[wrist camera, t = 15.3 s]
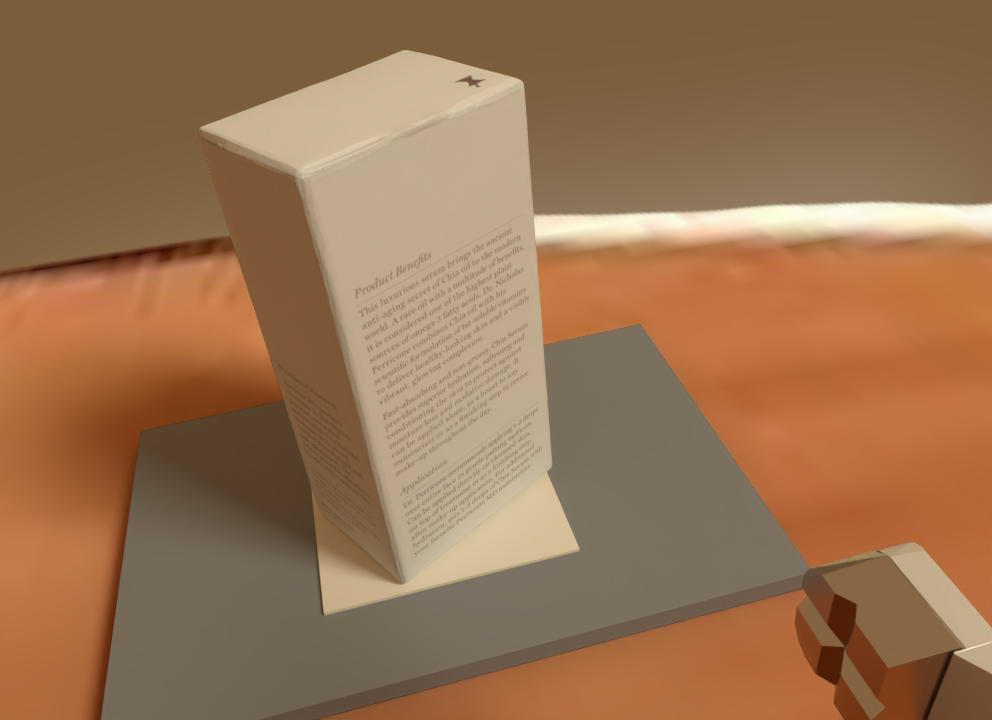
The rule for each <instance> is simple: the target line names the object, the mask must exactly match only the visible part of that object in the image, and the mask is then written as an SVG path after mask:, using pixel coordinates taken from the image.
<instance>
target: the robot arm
mask: <svg viewBox="0 0 992 720" xmlns="http://www.w3.org/2000/svg"><path fill="white" fill-rule="evenodd" d="M801 586H802V588H803V589H804V591H805V592H806V594H807V595H808V596H807V597H806V598H805V599H804V600H803V601H802V602H801V603H800V604H799V605H798V606H797V611H796V618H795V626H796V631H797V636H798V641H799V644H800V646H801V648H802V650H803V653H804V655H805V657H806V659H807V661H808V662H809V664H810V666H811V667H812V669H813V671H814V672H815V674H817V675H818V676H820V677H822V678H823V679H825V680H827V681H829V682H830V683H832V684H834V685H835V692H834V705H835V706H836V708H837V709H838V711H839V712H840V714H841V716H842V717H843V719H844V720H992V628H991V626H990V625H989V624H988V623H987V622H986V621H985V620H984V618H983V617H982V616H981V615H980V614H979V613H978V611H977V610H976V609H975V608H974V607H973V606H972V605H971V603H970V602H969V601H968V600H967V599H966V598H965V596H964V595H963V594H962V593H961V592H960V591H959V589H958V588H957V587H956V586H955V585H954V584H953V583H952V581H951V580H950V579H949V578H948V577H947V576H946V574H945V573H944V572H943V571H942V570H941V569H940V568H939V566H938V565H937V564H936V563H935V562H934V561H933V559H932V558H931V557H930V556H929V555H928V554H927V553H926V551H925V550H924V549H923V548H922V547H921V546H919V545H917V544H916V543H914V542H904V543H901V544H897V545H894V546H890V547H886V548H883V549H879V550H876V551H873V550H872V551H869V552H865V553H862V554H858V555H855V556H851V557H848V558H844V559H841V560H838V561H834V562H831V563H827V564H824V565H820V566H817V567H813V568H810V569H809V570H808V571H807V572H806V573H804V576H803V580H802V585H801Z"/></svg>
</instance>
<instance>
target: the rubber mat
mask: <svg viewBox="0 0 992 720" xmlns="http://www.w3.org/2000/svg"><path fill="white" fill-rule="evenodd" d="M543 347H544V362H545V375H546V386H547V398H548V412H549V425H550V442H551V454H552V467H551V468H550V470H548V471H547V472H546V473H544V474H543V475H542V476H540V477H539V478H538V479H536V480H535V481H534V482H533V483H532V484H530V485H529V486H528V487H527V488H525V489H524V490H523V491H522V492H520V493H519V494H518V495H516V496H515V497H514V498H513V499H511V500H510V501H509V502H508V503H506V504H505V505H504V506H503V507H501V508H500V509H499V510H497V511H496V512H495V513H494V514H492V515H491V516H490V517H489V518H487V519H486V520H485V521H484V522H482V523H481V524H480V525H479V526H477V527H476V528H475V529H474V530H472V531H471V532H470V533H469V534H467V535H466V536H465V537H464V538H462V539H461V540H460V541H458V542H457V543H456V544H455V545H453V546H452V547H451V548H450V549H448V550H447V551H446V552H445V553H443V554H442V555H441V556H439V557H438V558H437V559H436V560H434V561H433V562H432V563H431V564H429V565H428V566H427V567H426V568H425V569H423V570H422V571H421V572H420V573H418V574H417V575H416V576H415V577H414V578H412V579H411V580H410V581H409V582H407V583H402V582H400V581H399V580H397V579H396V578H395V577H394V576H393V575H392V574H391V573H389V572H388V571H387V570H386V569H385V568H384V567H383V566H382V565H380V564H379V563H378V562H377V561H376V560H375V559H374V558H373V557H371V556H370V555H369V554H368V553H367V552H366V551H365V550H364V549H363V548H361V547H360V546H359V545H358V544H357V543H355V542H354V541H353V540H352V539H351V538H350V537H348V536H347V535H346V534H345V533H344V532H343V531H341V530H340V529H339V528H338V527H337V526H335V525H334V524H333V523H332V522H331V521H329V520H328V519H327V518H326V517H324V516H323V514H322V513H321V512H320V510H319V509H318V506H317V503H316V500H315V497H314V494H313V491H312V488H311V484H310V481H309V478H308V475H307V472H306V468H305V465H304V462H303V459H302V456H301V453H300V450H299V447H298V444H297V441H296V437H295V434H294V431H293V428H292V425H291V422H290V419H289V416H288V413H287V409H286V406H285V403H284V401H279V402H275V403H270V404H265V405H261V406H256V407H251V408H247V409H242V410H237V411H233V412H228V413H223V414H219V415H214V416H209V417H205V418H200V419H195V420H191V421H186V422H181V423H177V424H172V425H167V426H163V427H158V428H153V429H149V430H144V431H141V432H140V439H139V446H138V453H137V461H136V468H135V475H134V482H133V490H132V497H131V504H130V511H129V519H128V526H127V533H126V540H125V548H124V555H123V562H122V569H121V577H120V584H119V591H118V598H117V606H116V613H115V620H114V627H113V635H112V642H111V649H110V656H109V664H108V671H107V678H106V685H105V693H104V700H103V707H102V714H101V720H316V719H319V718H323V717H327V716H330V715H334V714H338V713H342V712H345V711H349V710H353V709H356V708H360V707H364V706H368V705H371V704H375V703H379V702H382V701H386V700H390V699H394V698H397V697H401V696H405V695H408V694H412V693H416V692H420V691H423V690H427V689H431V688H434V687H438V686H442V685H446V684H449V683H453V682H457V681H460V680H464V679H468V678H472V677H475V676H479V675H483V674H486V673H490V672H494V671H498V670H501V669H505V668H509V667H512V666H516V665H520V664H524V663H527V662H531V661H535V660H538V659H542V658H546V657H550V656H553V655H557V654H561V653H564V652H568V651H572V650H576V649H579V648H583V647H587V646H590V645H594V644H598V643H602V642H605V641H609V640H613V639H616V638H620V637H624V636H628V635H631V634H635V633H639V632H642V631H646V630H650V629H654V628H657V627H661V626H665V625H668V624H672V623H676V622H680V621H683V620H687V619H691V618H694V617H698V616H702V615H706V614H709V613H713V612H717V611H720V610H724V609H728V608H732V607H735V606H739V605H743V604H746V603H750V602H754V601H758V600H761V599H765V598H769V597H772V596H776V595H780V594H784V593H787V592H791V591H795V590H798V589H802V586H801V585H802V580H803V576H804V573H806V572H807V571H808V570H809V569H810V568H809V567H808V565H807V564H806V563H805V561H804V560H803V558H802V557H801V555H800V554H799V552H798V551H797V550H796V548H795V547H794V545H793V544H792V542H791V541H790V539H789V538H788V537H787V535H786V534H785V532H784V531H783V529H782V528H781V526H780V525H779V524H778V522H777V521H776V519H775V518H774V516H773V515H772V513H771V512H770V511H769V509H768V508H767V506H766V505H765V503H764V502H763V500H762V499H761V498H760V496H759V495H758V493H757V492H756V490H755V489H754V487H753V486H752V485H751V483H750V482H749V480H748V479H747V477H746V476H745V474H744V473H743V472H742V470H741V469H740V467H739V466H738V464H737V463H736V461H735V460H734V459H733V457H732V456H731V454H730V453H729V451H728V450H727V449H726V447H725V446H724V444H723V443H722V441H721V440H720V438H719V437H718V436H717V434H716V433H715V431H714V430H713V428H712V427H711V425H710V424H709V423H708V421H707V420H706V418H705V417H704V415H703V414H702V412H701V411H700V410H699V408H698V407H697V405H696V404H695V402H694V401H693V399H692V398H691V397H690V395H689V394H688V392H687V391H686V389H685V388H684V386H683V385H682V384H681V382H680V381H679V379H678V378H677V376H676V375H675V373H674V372H673V371H672V369H671V368H670V366H669V365H668V363H667V362H666V360H665V359H664V358H663V356H662V355H661V353H660V352H659V350H658V349H657V347H656V346H655V345H654V343H653V342H652V340H651V339H650V337H649V336H648V334H647V333H646V332H645V330H644V329H643V327H642V326H641V324H638V325H633V326H629V327H624V328H619V329H615V330H610V331H605V332H601V333H596V334H591V335H587V336H582V337H577V338H573V339H568V340H563V341H559V342H554V343H550V344H545V345H543Z"/></svg>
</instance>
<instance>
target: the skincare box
mask: <svg viewBox="0 0 992 720" xmlns="http://www.w3.org/2000/svg"><path fill="white" fill-rule="evenodd" d="M198 134H199V139H200V142H201V145H202V148H203V151H204V154H205V158H206V161H207V165H208V168H209V171H210V174H211V177H212V180H213V183H214V186H215V189H216V192H217V195H218V198H219V201H220V205H221V208H222V211H223V214H224V217H225V220H226V223H227V226H228V229H229V232H230V236H231V239H232V242H233V245H234V248H235V252H236V255H237V258H238V261H239V263H240V266H241V270H242V273H243V276H244V279H245V282H246V285H247V288H248V291H249V294H250V297H251V300H252V303H253V306H254V309H255V312H256V316H257V319H258V322H259V325H260V328H261V331H262V334H263V338H264V341H265V344H266V347H267V350H268V353H269V357H270V360H271V363H272V366H273V369H274V372H275V375H276V378H277V382H278V385H279V388H280V391H281V394H282V397H283V400H284V403H285V406H286V409H287V413H288V416H289V419H290V422H291V425H292V428H293V431H294V434H295V437H296V441H297V444H298V447H299V450H300V453H301V456H302V459H303V462H304V465H305V468H306V472H307V475H308V478H309V481H310V484H311V488H312V491H313V494H314V497H315V500H316V503H317V506H318V509H319V510H320V512H321V513H322V514H323V516H324V517H326V518H327V519H328V520H329V521H331V522H332V523H333V524H334V525H335V526H337V527H338V528H339V529H340V530H341V531H343V532H344V533H345V534H346V535H347V536H348V537H350V538H351V539H352V540H353V541H354V542H355V543H357V544H358V545H359V546H360V547H361V548H363V549H364V550H365V551H366V552H367V553H368V554H369V555H370V556H371V557H373V558H374V559H375V560H376V561H377V562H378V563H379V564H380V565H382V566H383V567H384V568H385V569H386V570H387V571H388V572H389V573H391V574H392V575H393V576H394V577H395V578H396V579H397V580H399V581H400V582H402V583H407V582H409V581H410V580H411V579H412V578H414V577H415V576H416V575H417V574H418V573H420V572H421V571H422V570H423V569H425V568H426V567H427V566H428V565H429V564H431V563H432V562H433V561H434V560H436V559H437V558H438V557H439V556H441V555H442V554H443V553H445V552H446V551H447V550H448V549H450V548H451V547H452V546H453V545H455V544H456V543H457V542H458V541H460V540H461V539H462V538H464V537H465V536H466V535H467V534H469V533H470V532H471V531H472V530H474V529H475V528H476V527H477V526H479V525H480V524H481V523H482V522H484V521H485V520H486V519H487V518H489V517H490V516H491V515H492V514H494V513H495V512H496V511H497V510H499V509H500V508H501V507H503V506H504V505H505V504H506V503H508V502H509V501H510V500H511V499H513V498H514V497H515V496H516V495H518V494H519V493H520V492H522V491H523V490H524V489H525V488H527V487H528V486H529V485H530V484H532V483H533V482H534V481H535V480H536V479H538V478H539V477H540V476H542V475H543V474H544V473H546V472H547V471H548V470H550V468H551V467H552V454H551V442H550V425H549V412H548V398H547V386H546V375H545V362H544V347H543V335H542V322H541V306H540V294H539V281H538V269H537V254H536V242H535V228H534V215H533V201H532V191H531V178H530V177H531V176H530V162H529V148H528V134H527V120H526V106H525V95H524V84H523V82H522V81H521V80H519V79H517V78H514V77H510V76H506V75H503V74H499V73H495V72H491V71H487V70H483V69H479V68H476V67H472V66H469V65H465V64H461V63H458V62H454V61H451V60H446V59H443V58H439V57H436V56H431V55H427V54H423V53H418V52H412V51H409V50H403V51H400V52H398V53H395V54H393V55H391V56H388V57H386V58H383V59H381V60H378V61H376V62H373V63H371V64H368V65H366V66H363V67H360V68H358V69H356V70H353V71H351V72H348V73H345V74H343V75H340V76H338V77H335V78H332V79H329V80H327V81H324V82H321V83H318V84H315V85H312V86H309V87H307V88H304V89H302V90H299V91H296V92H293V93H291V94H288V95H285V96H282V97H280V98H277V99H275V100H272V101H269V102H267V103H264V104H261V105H258V106H256V107H253V108H250V109H248V110H245V111H243V112H240V113H237V114H235V115H232V116H230V117H226V118H224V119H221V120H218V121H216V122H213V123H210V124H208V125H205V126H202V127H200V129H199V133H198Z"/></svg>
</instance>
